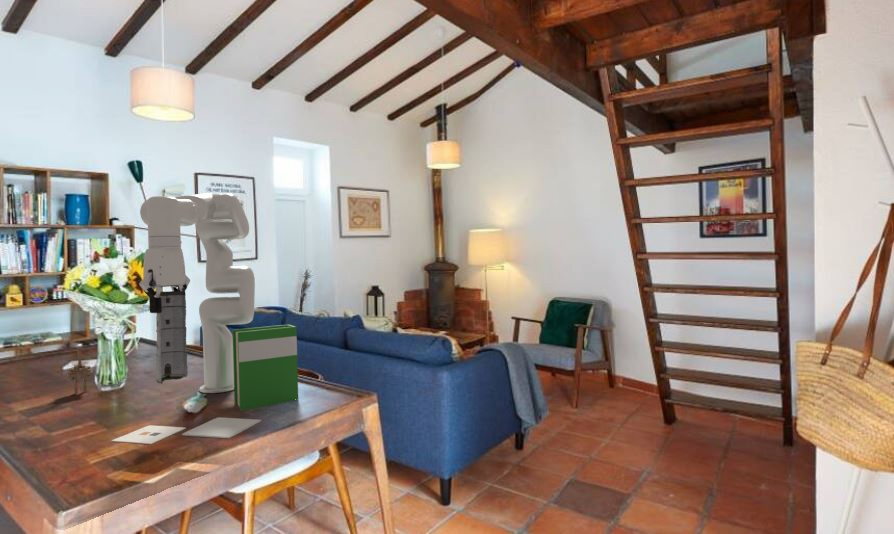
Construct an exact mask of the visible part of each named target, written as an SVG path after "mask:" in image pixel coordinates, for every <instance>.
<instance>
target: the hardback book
mask: <svg viewBox="0 0 894 534" xmlns="http://www.w3.org/2000/svg"><path fill="white" fill-rule="evenodd" d="M231 331H232V332H231V334H232V336H233V368H234V390H233V391H234V392H233V395H234V396H233V397H234V398H233V399H234V400H233V402H234V404H233V405H234V406H238V407H239V411H240V412H241V411H242V410H243V411H246V410H253V409H259V408H263V407H268V406H273V405H278V404H283V402H284V403H288V402H287V401H290V402H292V401H291V400H295V399H298V400H299V375H298V373H299V372H298V371H299V370H298V368H299V367H298V340H297V339H298V338H297V337H298V336H297V335H298V334H297V332H298V331H297V326H296V325H292V324H280V325H270V326H260V327H259V326H257V327H247V328H235V329H232V330H231ZM295 401H296V400H295ZM243 411H242V412H243Z"/></svg>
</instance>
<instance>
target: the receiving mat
mask: <svg viewBox="0 0 894 534" xmlns="http://www.w3.org/2000/svg"><path fill="white" fill-rule="evenodd" d="M261 422H262V419H253V418H252V419H251V418H236V417H234V418H233V417H221V416H220V417H218V416H217V417H216V418H213V419H211V420H209V421H207V422H205V423H203V424H200V425H199V426H196V427H194V428H191V429H189V430H187V431H185V432H183V433H181V436H186V437H187V436H188V437H200V438H201V437H203V438H214V439H215V438H216V439H231V438H233V437H235V436H236V435H239V434H240V433H242V432H244V431H246V430H247V429H249V428H251V427H253V426H255V425H257V424H258V423H261Z"/></svg>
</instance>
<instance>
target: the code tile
mask: <svg viewBox="0 0 894 534" xmlns="http://www.w3.org/2000/svg"><path fill="white" fill-rule="evenodd" d="M186 429H187V427H182V426H181V427H179V426H169V425H167V426H166V425H151V424H150V425H147V426H144V427H142V428H139V429H136V430H134V431H132V432H129V433H127V434H124V435H122V436H119V437H117V438H114V439H112V440H111V442H118V443H128V444H129V443H130V444H144V445H145V444H147V445H152V444H155V443H157V442H159V441H161V440H163V439H166V438H168V437H170V436H173V435H174V434H177V433H179V432H182V431H183V430H186Z"/></svg>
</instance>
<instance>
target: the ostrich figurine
mask: <svg viewBox="0 0 894 534" xmlns="http://www.w3.org/2000/svg"><path fill="white" fill-rule="evenodd" d="M82 348H83V347H82V345H78V346H77V362H78V363H76V364H74V365H73V367H69V368H68V372H66V375H67V376H66V377H67V379H70V381H72V380H73V386H74V388H73V389H74V390H73V391H74V395H77V394H78V389H79V388H78V387H79V386H78V381H79V379H82V388H83V390H82V391H83V393H87V392H88V389H87V387H88V386H87V382H88V381H87V380H88V379H89V377H91V376H92V375H93V374H94V371H93V370H92V369H91V366H90V365H85V364H84V363H82Z"/></svg>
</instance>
